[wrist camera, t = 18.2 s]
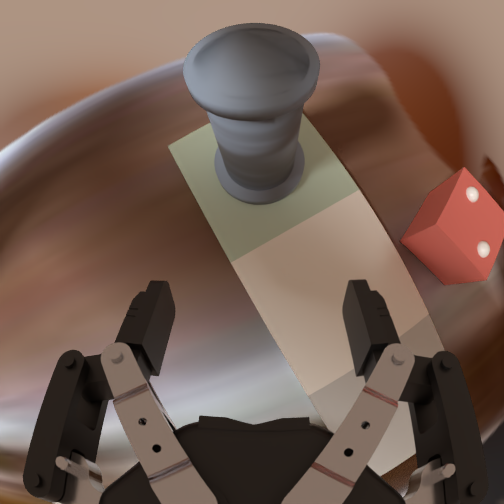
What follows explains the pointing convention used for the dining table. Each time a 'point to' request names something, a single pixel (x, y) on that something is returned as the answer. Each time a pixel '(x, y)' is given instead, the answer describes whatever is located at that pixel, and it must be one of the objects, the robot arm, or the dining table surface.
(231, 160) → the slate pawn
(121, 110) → the dining table surface
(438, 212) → the red die
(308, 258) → the game track
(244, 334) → the dining table surface
